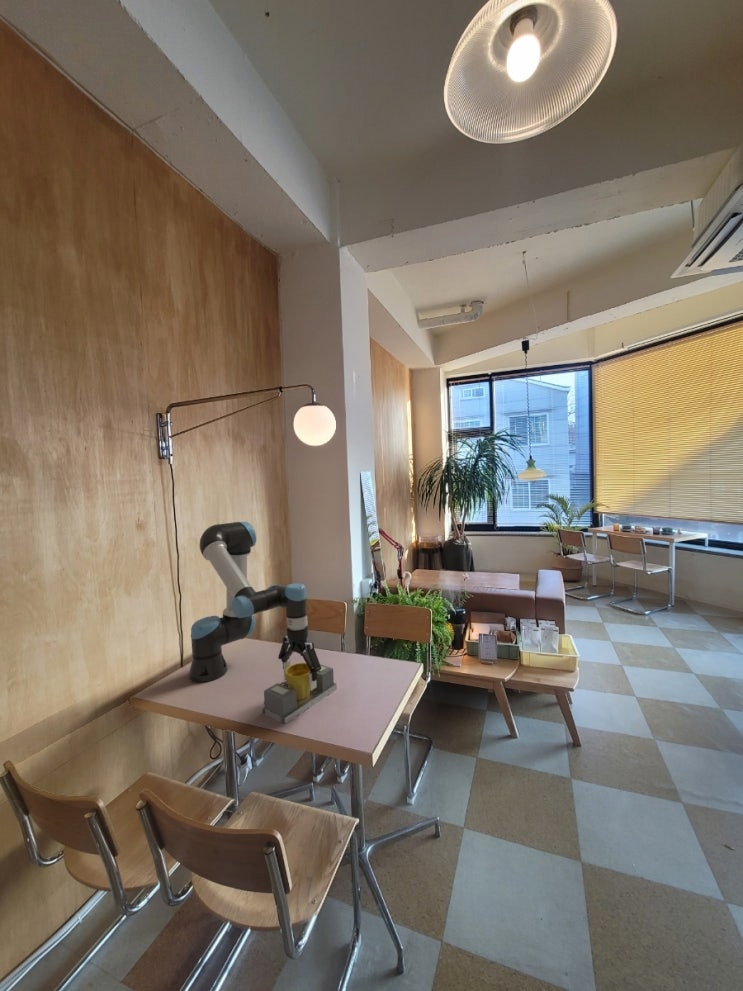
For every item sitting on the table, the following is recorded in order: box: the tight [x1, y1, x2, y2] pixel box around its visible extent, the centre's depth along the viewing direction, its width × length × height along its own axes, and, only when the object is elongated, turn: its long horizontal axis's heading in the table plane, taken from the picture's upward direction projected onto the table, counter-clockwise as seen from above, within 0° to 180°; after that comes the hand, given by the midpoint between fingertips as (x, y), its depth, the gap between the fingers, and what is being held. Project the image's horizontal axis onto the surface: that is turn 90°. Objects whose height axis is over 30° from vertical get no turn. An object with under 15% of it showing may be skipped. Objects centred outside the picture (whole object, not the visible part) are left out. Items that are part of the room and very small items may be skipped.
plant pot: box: [285, 662, 310, 700], centre depth 144 cm, size 10×10×10 cm
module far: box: [316, 663, 335, 690], centre depth 152 cm, size 10×6×6 cm, turn 54°
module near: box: [263, 683, 297, 716], centre depth 136 cm, size 10×6×6 cm, turn 54°
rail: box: [261, 682, 338, 725], centre depth 144 cm, size 12×26×2 cm, turn 144°
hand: (300, 683), depth 144 cm, fingers open, 13 cm apart
